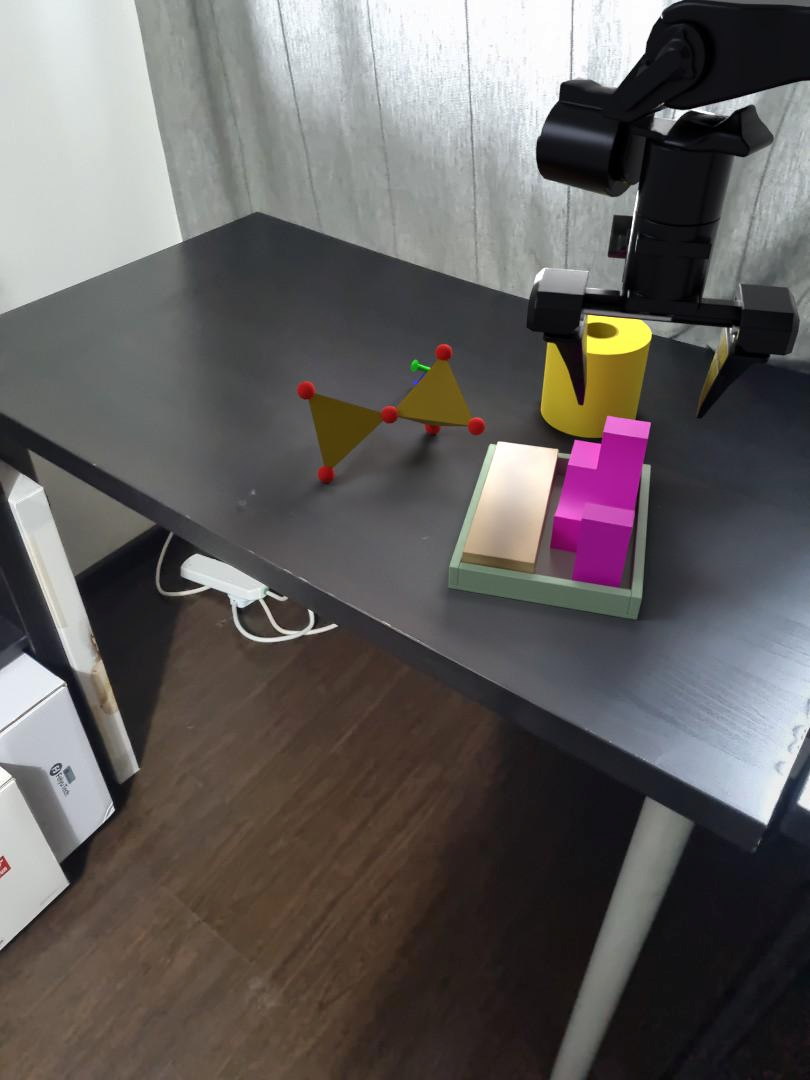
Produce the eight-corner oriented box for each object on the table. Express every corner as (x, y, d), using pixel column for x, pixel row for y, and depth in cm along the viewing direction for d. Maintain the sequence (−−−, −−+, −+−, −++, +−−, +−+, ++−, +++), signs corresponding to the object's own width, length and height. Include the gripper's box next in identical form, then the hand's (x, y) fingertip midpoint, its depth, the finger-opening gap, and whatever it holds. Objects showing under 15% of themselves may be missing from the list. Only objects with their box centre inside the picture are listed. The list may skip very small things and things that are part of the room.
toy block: (569, 479, 79) (579, 411, 74) (636, 491, 77) (650, 422, 72) (539, 583, 68) (548, 512, 63) (617, 599, 66) (632, 527, 61)
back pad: (555, 475, 79) (559, 449, 77) (531, 590, 67) (534, 563, 65) (496, 466, 80) (497, 441, 78) (461, 579, 68) (462, 551, 66)
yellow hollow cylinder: (650, 432, 85) (667, 349, 79) (556, 442, 84) (566, 358, 78) (616, 384, 93) (630, 304, 87) (529, 392, 92) (537, 312, 85)
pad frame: (646, 485, 78) (650, 464, 77) (636, 620, 65) (642, 598, 63) (488, 463, 81) (489, 443, 80) (448, 588, 68) (448, 566, 67)
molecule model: (273, 402, 88) (273, 312, 79) (430, 381, 94) (447, 294, 84) (311, 519, 80) (316, 433, 70) (481, 488, 85) (507, 405, 76)
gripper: (809, 182, 60) (754, 373, 70) (553, 168, 64) (535, 351, 74) (830, 238, 52) (764, 444, 62) (534, 217, 56) (517, 415, 66)
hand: (639, 409), depth 66 cm, fingers open, 9 cm apart
